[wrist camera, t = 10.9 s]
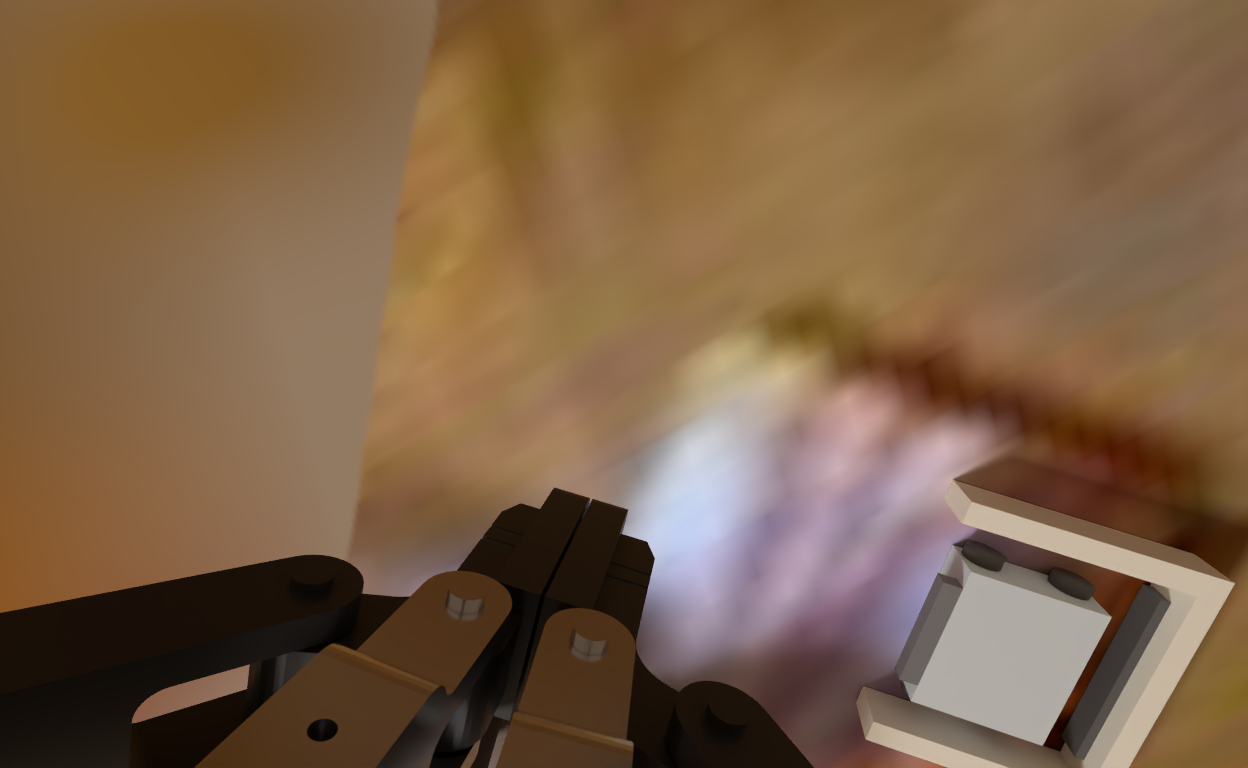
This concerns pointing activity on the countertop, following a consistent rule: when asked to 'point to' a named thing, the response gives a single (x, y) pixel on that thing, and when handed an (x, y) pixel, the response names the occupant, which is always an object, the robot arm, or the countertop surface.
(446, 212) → the countertop surface
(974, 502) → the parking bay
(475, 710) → the robot arm
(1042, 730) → the white box with feet
